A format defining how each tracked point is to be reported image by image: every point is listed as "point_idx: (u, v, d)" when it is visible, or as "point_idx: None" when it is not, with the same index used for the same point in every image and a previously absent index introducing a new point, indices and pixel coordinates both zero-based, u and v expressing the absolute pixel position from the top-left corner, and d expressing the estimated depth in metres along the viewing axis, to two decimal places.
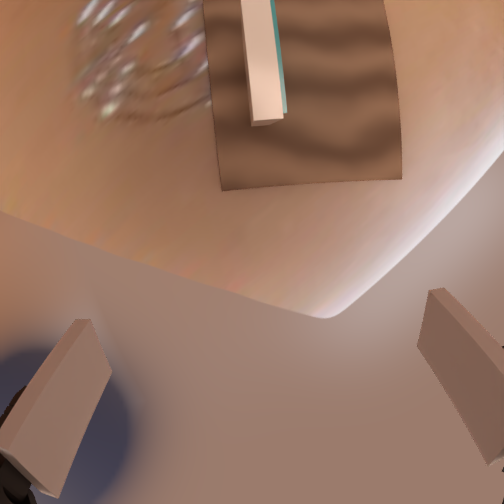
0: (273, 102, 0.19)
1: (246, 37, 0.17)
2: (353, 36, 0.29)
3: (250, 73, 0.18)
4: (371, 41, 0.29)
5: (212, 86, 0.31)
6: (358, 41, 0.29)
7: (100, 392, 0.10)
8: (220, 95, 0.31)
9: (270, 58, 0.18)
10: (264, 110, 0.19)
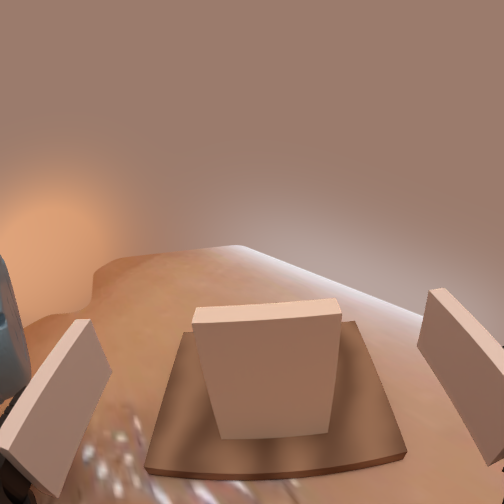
0: (321, 303, 0.21)
1: (249, 320, 0.20)
2: None
3: (291, 316, 0.20)
4: None
5: (274, 470, 0.22)
6: None
7: (100, 392, 0.10)
8: (287, 462, 0.23)
9: (275, 306, 0.22)
10: (330, 307, 0.21)
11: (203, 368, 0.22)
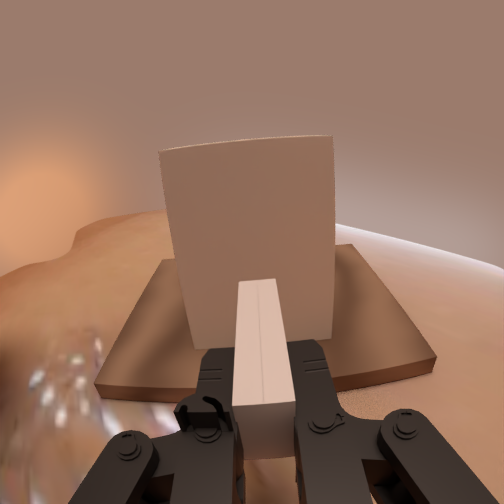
0: None
1: (224, 142, 0.17)
2: None
3: (274, 137, 0.17)
4: None
5: None
6: None
7: None
8: None
9: None
10: None
11: (169, 219, 0.18)
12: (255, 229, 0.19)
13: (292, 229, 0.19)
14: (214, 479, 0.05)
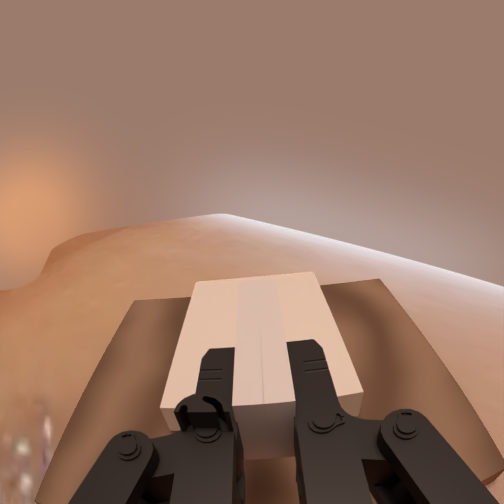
0: None
1: (241, 279, 0.27)
2: None
3: (274, 276, 0.27)
4: None
5: None
6: None
7: None
8: None
9: None
10: None
11: (189, 306, 0.23)
12: None
13: (290, 308, 0.21)
14: (214, 479, 0.05)
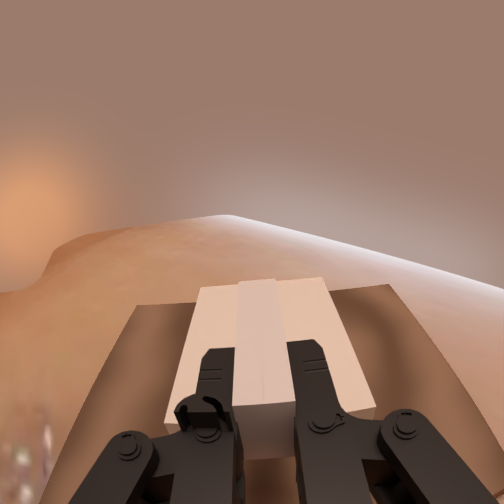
0: None
1: None
2: None
3: (281, 281, 0.26)
4: None
5: None
6: None
7: None
8: None
9: None
10: None
11: (194, 314, 0.22)
12: None
13: (299, 316, 0.21)
14: (214, 479, 0.05)
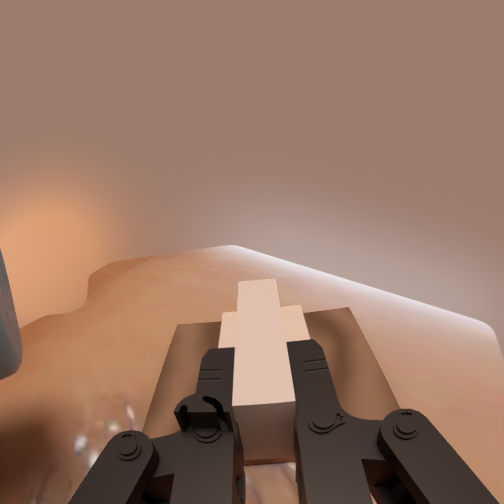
0: None
1: None
2: (217, 343, 0.38)
3: None
4: None
5: None
6: None
7: None
8: None
9: None
10: None
11: (221, 330, 0.36)
12: None
13: (284, 331, 0.35)
14: (214, 479, 0.05)
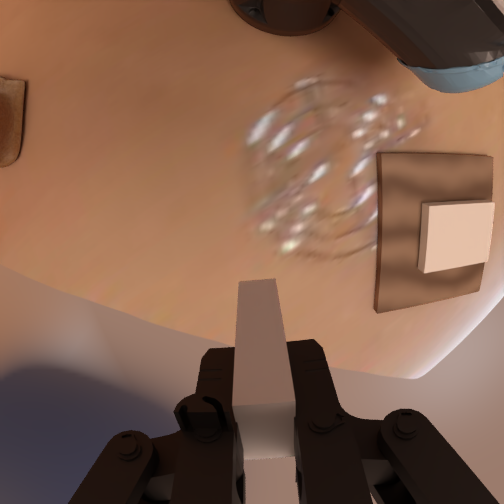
0: None
1: (492, 225, 0.39)
2: (472, 194, 0.39)
3: (490, 242, 0.40)
4: (481, 196, 0.39)
5: (383, 239, 0.41)
6: (474, 198, 0.39)
7: None
8: (387, 246, 0.42)
9: None
10: None
11: (477, 203, 0.37)
12: (470, 236, 0.39)
13: (467, 250, 0.40)
14: (214, 479, 0.05)
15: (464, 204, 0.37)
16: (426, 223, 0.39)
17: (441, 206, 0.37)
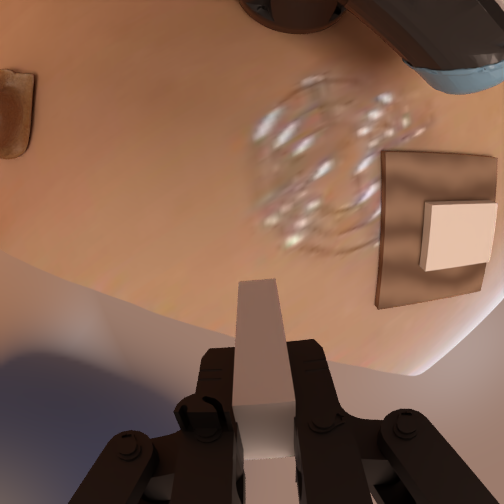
0: None
1: (494, 226, 0.39)
2: (475, 194, 0.39)
3: (492, 242, 0.40)
4: (484, 197, 0.39)
5: (385, 236, 0.42)
6: (477, 198, 0.39)
7: None
8: (390, 243, 0.42)
9: None
10: None
11: (480, 204, 0.37)
12: (472, 236, 0.39)
13: (469, 249, 0.40)
14: (214, 479, 0.05)
15: (467, 204, 0.37)
16: (428, 222, 0.39)
17: (444, 205, 0.38)
